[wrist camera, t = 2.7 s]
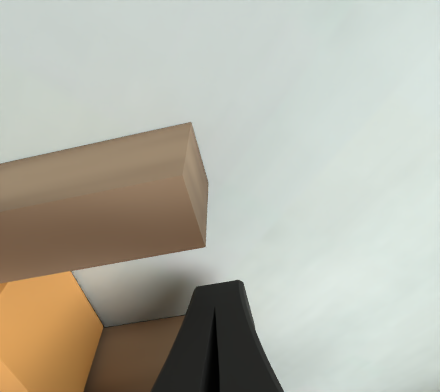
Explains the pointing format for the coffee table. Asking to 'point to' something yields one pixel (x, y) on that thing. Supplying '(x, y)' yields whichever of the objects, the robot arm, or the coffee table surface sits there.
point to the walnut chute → (107, 229)
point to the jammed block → (46, 335)
